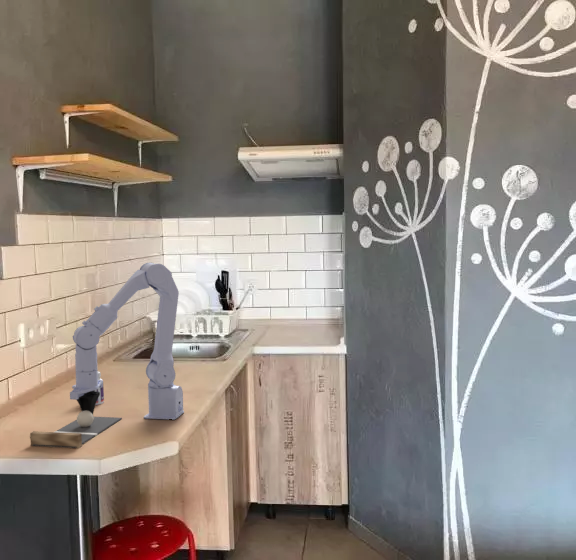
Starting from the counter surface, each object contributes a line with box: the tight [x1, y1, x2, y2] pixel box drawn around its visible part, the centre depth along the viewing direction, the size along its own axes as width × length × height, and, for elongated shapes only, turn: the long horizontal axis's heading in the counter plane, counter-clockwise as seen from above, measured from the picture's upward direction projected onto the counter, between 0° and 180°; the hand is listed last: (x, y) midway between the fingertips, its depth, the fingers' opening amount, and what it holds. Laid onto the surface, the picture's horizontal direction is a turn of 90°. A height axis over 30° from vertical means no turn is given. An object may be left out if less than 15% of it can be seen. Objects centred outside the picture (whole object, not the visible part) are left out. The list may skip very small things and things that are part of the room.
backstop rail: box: [29, 430, 83, 449], centre depth 160 cm, size 13×2×3 cm, turn 79°
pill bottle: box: [95, 370, 105, 406], centre depth 200 cm, size 5×5×10 cm
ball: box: [76, 411, 95, 427], centre depth 175 cm, size 4×4×4 cm
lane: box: [33, 416, 123, 449], centre depth 172 cm, size 12×25×1 cm, turn 169°
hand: (87, 419), depth 177 cm, fingers closed, pressing on ball
